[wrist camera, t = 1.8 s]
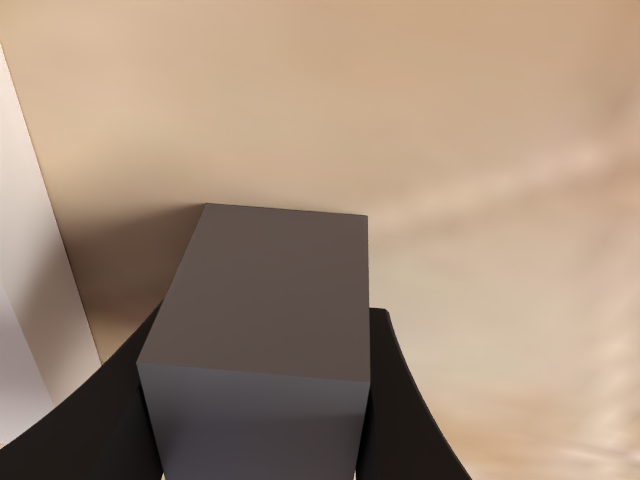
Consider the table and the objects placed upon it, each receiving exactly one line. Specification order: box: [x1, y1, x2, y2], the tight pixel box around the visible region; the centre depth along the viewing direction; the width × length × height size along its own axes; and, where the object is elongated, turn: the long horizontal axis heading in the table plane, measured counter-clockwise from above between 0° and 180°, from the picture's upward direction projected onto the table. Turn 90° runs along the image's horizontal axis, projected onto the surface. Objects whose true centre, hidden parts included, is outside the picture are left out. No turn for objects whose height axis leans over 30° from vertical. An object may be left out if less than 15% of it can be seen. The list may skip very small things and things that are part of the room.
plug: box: [136, 203, 370, 480], centre depth 12 cm, size 5×4×5 cm
